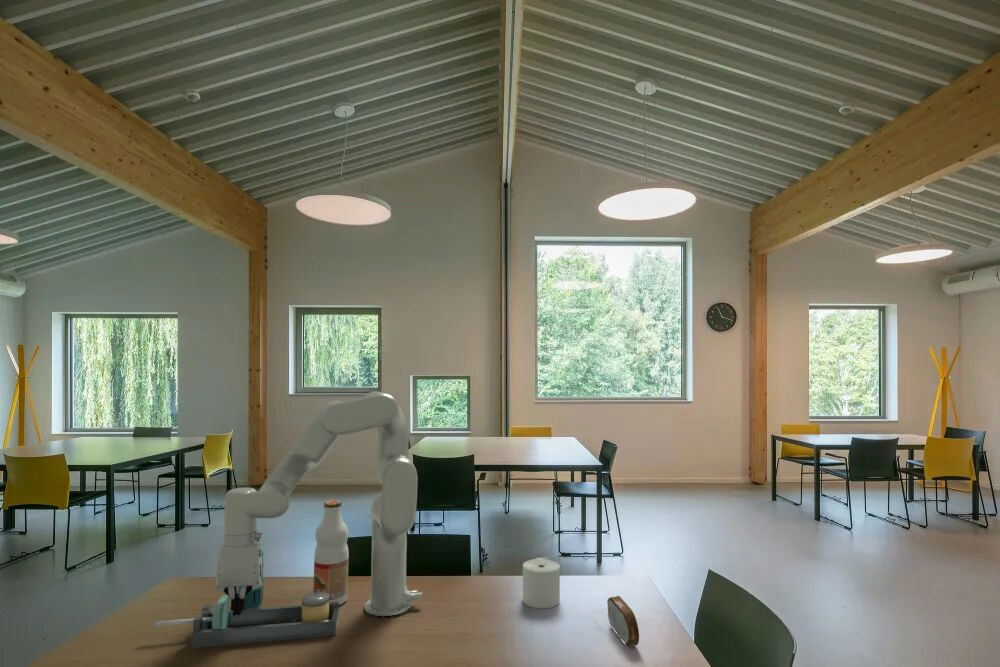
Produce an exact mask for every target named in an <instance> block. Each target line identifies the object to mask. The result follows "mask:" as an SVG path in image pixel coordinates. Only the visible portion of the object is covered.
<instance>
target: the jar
mask: <svg viewBox="0 0 1000 667" xmlns="http://www.w3.org/2000/svg"><path fill="white" fill-rule="evenodd" d="M301 605H302V620H301V622H307V621H319V620H330V618H329V594H328V593H326V592H310V593H306V594H305V595H303V596H302V598H301Z"/></svg>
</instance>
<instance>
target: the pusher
mask: <svg viewBox="0 0 1000 667" xmlns="http://www.w3.org/2000/svg"><path fill="white" fill-rule="evenodd" d="M229 603H230V598H229V596H228V595H227V594H222V595H221V596H220V597H219V599H218V601H217V603H216V604H215V605H214V607H213V609H212V612H213V616H212V617H207V618H203V622H212V628H211V629H223V628H229V626H228V616H229V611H230V609H229V608H230V604H229ZM194 619H195V617H194V618H185V619H172V620H159V621H155V622H154V623H153V626H154V627H161V626H173V625H185V624H187V625H188V624H193V620H194Z"/></svg>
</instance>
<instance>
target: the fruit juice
mask: <svg viewBox="0 0 1000 667" xmlns="http://www.w3.org/2000/svg"><path fill="white" fill-rule="evenodd" d="M341 508H342V501H341V500H340V499H330V500H326V501H324V502H323V509H324V513H323V518H322V521H321V522H320V524H319V525H318V527H317V528H316V530H315V535H314V536H315V541H316V547H315V548H314V555H313V557H314V558H313V592H326V593H328V594H329V603H333V602H339V605H340V606H342V605H344V604H345V603H346V602H347V601H348V597H349V596H348V595H349V594H348V592H349V547H348V544H347V542H348V537H349V527H348V526H347V524H346V523H345V522H344V520H343V517H342V514H341V513H342V512H341ZM313 592H312V593H313ZM346 600H347V601H346ZM345 601H346V602H345ZM344 602H345V603H344ZM343 603H344V604H343ZM341 604H342V605H341Z"/></svg>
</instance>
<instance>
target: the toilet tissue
mask: <svg viewBox="0 0 1000 667" xmlns="http://www.w3.org/2000/svg"><path fill="white" fill-rule="evenodd" d="M560 571H561V566H560V563H558V562H556V561H554V560H551V559H550V556H543V557H536V558H533V559H529V560H527V561H525V562H523V563H522V602H523V603H524V604H525V605H526V606H529V607H531V608H535V609H550V608H553V607H557V606H558V605H560V601H561V599H560V597H561V594H560V593H561V592H560V590H561V589H560V587H561V586H560V582H561V581H560V579H561V574H560ZM556 605H557V606H556Z"/></svg>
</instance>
